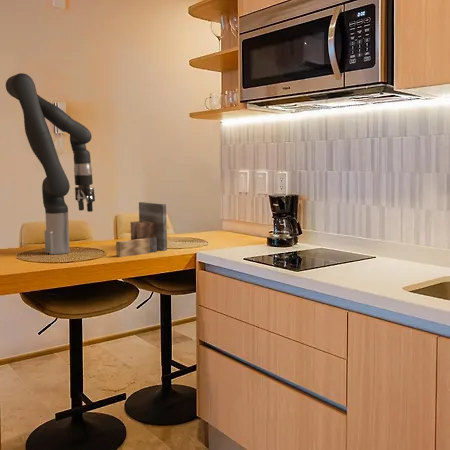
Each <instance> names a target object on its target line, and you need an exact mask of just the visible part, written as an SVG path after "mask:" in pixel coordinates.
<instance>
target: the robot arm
mask: <svg viewBox="0 0 450 450" xmlns="http://www.w3.org/2000/svg"><path fill="white" fill-rule="evenodd" d="M5 90H6V92H7V93H8V94H9V95H10V96H11V97H12V98H14V99H16V100H17V101H18V102H19V104H20V106H21V110H22V114H23V122H24V123H23V125H24V132H25V136H26V138H27V142H28V144H29V147H30V148H31V150H32V152H33V155H35V157H36V158H37V160H38V161H39V162H40V164H41V166H42V168H43V170H44V173H45V176H46V177H44V179H43V181H42V185H41V187H42V188H41V193H42V202H43V207H44V210H45V213H44V214H45V230H44V246H45V247H44V248H45V249H44V252H45V254H48V253H49V254H48V255H64V254H68V253H70V249H71V248H70V229H69V208H68V207H69V206H68V205H67V203H66V202H65V196H66V195H68V193H69V191H70V189H71V187H70V181H69V179H68V177H67V174H66V173H65V170H64V168H63V166H62V164H61V162H60V159H59V156H58V152H57V149H56V147H55V143H54V141H53V140H54V139H53V138H52V134H51V131H50V129H49V126H48V124H47V121H48V122H49V123H51V124H52V125H53V126H54V127H56V128H57V129H58V130H60V131H61V132H63V133H67V134H69V141H70V146H71V147H70V148H71V151H72V153H73V165H74V166H73V174H74V176H73V177H74V185H75V187H74V194H75V195H74V197H75V199H74V200H75V201H77V203H78V204H77V205H78V210H79V211H84V210H85V205H84V204H85V203H84V200H85V201H86V210H87V212H89V213H90V212H93V209H94V208H93V203H94V202H95V200H96V198H95V188H94V187H91V186H90V185H93V169H92V163H91V162H92V161H91V152H90V151H89V150H88V149H87V146H86V145H87V144H89V142H91V140H92V137H93V135H92V133H91V131H90V130H89V128H88V127H87V126H85V125H84V124H82V123H80V122H78V121H77V120H75V119H73V118H72V117H71V116H70V115H68V114H67V112H65V111H64V110H62V109H61V108H60V107H58V106H57V105H55V104H53V103H52V102H50V101H48V100H46V99H45V98H43V97H42V96H40V95H39V94H38V93H37V88H36V84H35V82H34V80H33V78H32V77H31V76H30V75H28V74H26V73H24V72H22V73H21V72H20V73H17V74H14V75H12V76H10V77H8V79H7V80H6V81H5ZM46 120H47V121H46Z"/></svg>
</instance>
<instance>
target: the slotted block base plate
mask: <svg viewBox="0 0 450 450" xmlns="http://www.w3.org/2000/svg"><path fill="white" fill-rule="evenodd" d="M167 228H168V227H167V204H165V203H153V202H146V201H145V202H144V201H141V202H140V201H139V202H138V221H130V240H135V239H144V238H147V239H148V238H157V251H158V250H159V251H168V238H167V237H168V235H167V234H168V233H167V231H168V230H167Z"/></svg>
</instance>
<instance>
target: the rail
mask: <svg viewBox="0 0 450 450" xmlns="http://www.w3.org/2000/svg"><path fill="white" fill-rule="evenodd" d="M115 244H116V257H119V258H123V257H129V256H138V255H146V254H150V253H152V254H153V253H157V251H158V249H157V238H148V239H147V238H144V239H135V240H131V239H126V240H118V241H117V240H116V243H115Z"/></svg>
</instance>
